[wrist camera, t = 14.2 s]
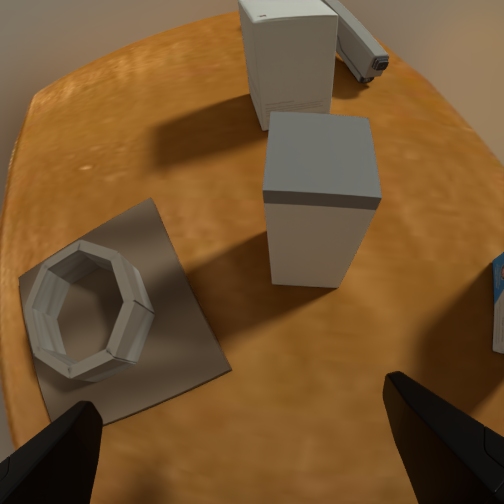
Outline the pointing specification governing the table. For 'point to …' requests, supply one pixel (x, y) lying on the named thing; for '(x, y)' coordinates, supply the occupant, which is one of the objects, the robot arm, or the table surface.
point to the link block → (317, 195)
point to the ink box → (498, 304)
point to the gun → (357, 45)
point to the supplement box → (289, 55)
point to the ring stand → (117, 321)
